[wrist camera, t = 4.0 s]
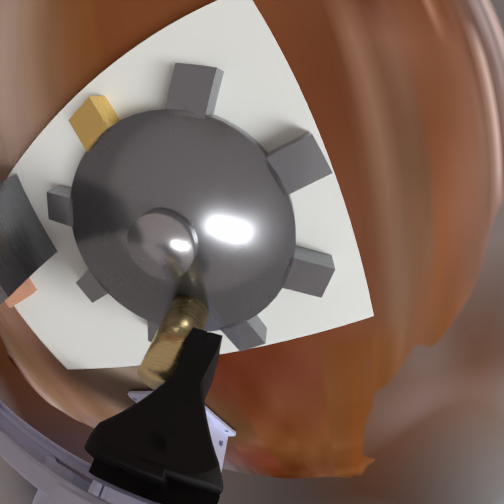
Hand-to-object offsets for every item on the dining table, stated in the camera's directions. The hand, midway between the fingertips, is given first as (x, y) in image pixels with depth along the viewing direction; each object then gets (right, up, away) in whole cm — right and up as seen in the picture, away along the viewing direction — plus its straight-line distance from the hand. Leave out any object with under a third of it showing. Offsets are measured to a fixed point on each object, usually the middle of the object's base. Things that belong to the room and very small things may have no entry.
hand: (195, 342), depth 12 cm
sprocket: (-1, +5, +1) cm, 5 cm away
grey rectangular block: (-13, +6, +2) cm, 14 cm away
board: (-7, +4, +3) cm, 9 cm away
